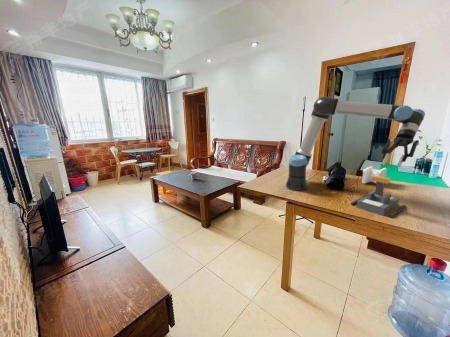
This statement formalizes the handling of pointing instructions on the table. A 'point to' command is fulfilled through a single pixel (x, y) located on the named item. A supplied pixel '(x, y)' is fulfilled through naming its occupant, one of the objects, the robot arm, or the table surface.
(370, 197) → the breaker block
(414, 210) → the table surface
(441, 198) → the table surface
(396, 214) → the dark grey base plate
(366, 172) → the cable organizer
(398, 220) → the table surface
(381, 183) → the lever
